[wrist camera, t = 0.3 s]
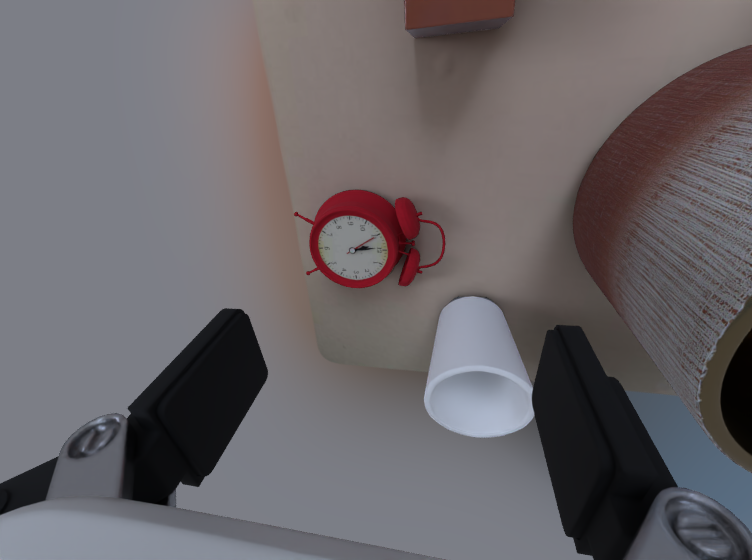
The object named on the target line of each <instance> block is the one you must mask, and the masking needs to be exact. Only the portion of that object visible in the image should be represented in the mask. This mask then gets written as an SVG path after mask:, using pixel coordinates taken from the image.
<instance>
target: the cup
mask: <svg viewBox="0 0 752 560" xmlns="http://www.w3.org/2000/svg"><path fill="white" fill-rule="evenodd" d="M532 391H533V387H532V384H531V382H530V379H529V377H528V374H527V372H526V369H525V367H524V364H523V362H522V359H521V357H520V354H519V352H518V349H517V347H516V344H515V342H514V339H513V337H512V334H511V332H510V329H509V327H508V324H507V322H506V319H505V317H504V314H503V312H502V310H501V309H500V308H499V307H498V306H497V305H496V304H495V303H494V302H493V301H492V300H490V299H489V298H487V297H475V296H470V297H459V296H458V297H456V298H454V299H453V300H452V301H451V302H450V303H449V304H448V305H446V306H445V307H444V308H443V309H442V311H441V313H440V317H439V322H438V327H437V332H436V337H435V343H434V348H433V353H432V358H431V363H430V369H429V374H428V379H427V385H426V389H425V395H424V403H425V408H426V410H427V412H428V413H429V415H430V417H431V418H432V419H434V420H435V421H436V422H437V423H438V424H440V425H442V426H443V427H445V428H447V429H448V430H451V431H453V432H456V433H459V434H462V435H466V436H471V437H479V438H480V437H481V438H489V437H498V436H503V435H507V434H510V433H513V432H516V431H517V430H519V429H522V428H524V427H525V426H526V425H527V424H528V423H529V422H530V421H531V420H532V419H533V417H534V411H533V407H532Z"/></svg>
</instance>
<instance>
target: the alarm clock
mask: <svg viewBox="0 0 752 560" xmlns="http://www.w3.org/2000/svg"><path fill="white" fill-rule="evenodd" d="M294 215H295V216H299V217H300V218H302V219H304V220H305V221H307V222H309V223H311V224H313V227H312V230H311V233H310V252H311V255H312V258H313V260H314V262H315V264H316V266H317V268H315V269H314V270H312V271H310V272H309V271H307V272H306V274H307V275H310V273H312V272H314V271H317V270H320V271H321V272H322V273H323V274H324V275H325V276H326V277H328V278H329V279H330V280H332V281H334V282H335V283H338V284H340V285H343V286H346V287H351V288H365V287H369V286H373V285H375V284H377V283H379V282H380V281H382V280H383V279H384V278H386V277H387V276H388V275H389V273H390V272H391V271H392V269H393V267H394V266H395V265H396V264H397V263H398V262H399V260H400V259H401V257H402V255H403V254H406V255H407V258H406V260H405V263H404V266H403V269H402V272H401V275H400V279H399V284H398V285H400V286H408V285H409V284H410V283H411V282H412V281H413V279H414V277H415V275H416V273H420V274H422V271H420V270H419V269H420V268H427V267H431V266H434V265H436V264H437V263H438V262H440V261H441V259H442V257H443V254H444V251H445V235H444V231H443V229H442V228H441V226H440V225H439V224H437V223H435V222H433V221H429V220H422V219H419V218H418V216H420V215H422V212H419V213H417V211H416V209H415V207H414V205H413V203H412V202H411V201H410V200H409V199H408V198H405V197H402V198H398V199H396V201H395V208H394V207H393V206H392V205H391V204H390V203H389V202H388V201H387V200H385V199H384V198H382V197H381V196H379V195H377V194H374V193H372V192H368V191H363V190H348V191H343V192H340V193H338V194H335V195H334V196H332V197H331V198H329V199H328V200H327V201H326V202H325V203H324V204H323V205H322V206H321V208H320V209H319V211H318V213H317V215H316V217H315V221H314V222H313V221H312V220H310V219H308V218H305V217H303V216H301V215H299V214H298V212H295V213H294ZM419 221H420V222H425V223H430V224H434V225H436V226H437V227H438V228H439V229H440V231H441V234H442V239H443V247H442V253H441V256H440V258H439V259H438V260H437V261H436V262H434V263H433V264H429V265H425V266H419V262H420V254H419V252H418V251H417V250H416V249H414V248H411V249H410V251H409V253H405V252H404V249H405V246H406V244H412V246H414V245H415V241H412V242H406V238H407V239H408V240H410V239H413V238H415V237H416V236H417V235H418V234H419V230H420V223H419Z"/></svg>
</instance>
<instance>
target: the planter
mask: <svg viewBox="0 0 752 560" xmlns="http://www.w3.org/2000/svg"><path fill="white" fill-rule="evenodd" d="M573 233H574V239H575V243H576V247H577V250H578V253H579V255H580V258H581V260H582V262H583V264H584V266H585V268H586V269H587V271H588V272H589V274H590V275H591V277H592V278H593V280H594V281H595V282H596V284H597V285H598V287H599V288H600V289H601V291H602V292H603V293H604V295H605V296H606V297H607V299H608V300H609V302H610V303H611V304H612V306H613V307H614V308H615V310H616V311H617V312H618V314H619V315H620V316H621V318H622V319H623V320H624V322H625V323H626V324H627V326H628V327H629V328H630V330H631V331H632V333H633V334H634V335H635V337H636V338H637V339H638V341H639V342H640V343H641V345H642V346H643V347H644V349H645V350H646V352H647V353H648V354H649V356H650V357H651V358H652V360H653V361H654V363H655V364H656V365H657V367H658V368H659V370H660V371H661V372H662V374H663V375H664V376H665V378H666V379H667V381H668V382H669V383H670V385H671V386H672V388H673V389H674V390H675V392H676V393H677V395H678V396H679V397H680V399H681V400H682V402H683V403H684V404H685V406H686V407H687V409H688V410H689V411H690V413H691V414H692V415H693V417H694V418H695V420H696V421H697V423H698V424H699V425H700V427H701V428H702V429H703V431H704V432H705V433H706V435H707V436H708V437H709V439H710V440H711V441H712V442H713V443H714V445H715V446H716V447H717V448H718V449H719V450H720V451H721V452H722V453H723V454H724V455H726V456H727V457H728V458H729V459H731V460H732V461H733V462H735V463H736V464H738V465H739V466H741V467H742V468H744V469H745V470H747V471H749V472H751V473H752V45H749V46H746V47H743V48H740V49H737V50H734V51H731V52H729V53H726V54H724V55H722V56H719V57H717V58H715V59H712V60H710V61H708V62H706V63H704V64H702V65H700V66H698V67H696V68H694V69H692V70H690V71H689V72H687V73H685V74H683V75H682V76H680V77H678V78H677V79H675V80H673V81H672V82H670V83H669V84H667V85H666V86H665V87H663V88H662V89H660V90H659V91H658V92H656V93H655V94H654V95H652V96H651V97H650V98H648V99H647V100H646V101H645V102H644V103H642V104H641V105H640V106H639V107H638V108H636V109H635V110H634V111H633V112H632V113H631V114H630V115H629V116H628V117H627V118H626V119H625V120H624V121H623V122H622V123H621V124H620V125H619V126H618V127H617V128H616V130H615V131H614V132H613V133H612V134H611V135H610V137H609V138H608V139H607V140H606V142H605V143H604V144H603V146H602V147H601V148H600V150H599V151H598V153H597V154H596V156H595V157H594V159H593V161H592V162H591V164H590V166H589V168H588V170H587V172H586V174H585V176H584V178H583V180H582V183H581V185H580V188H579V191H578V194H577V198H576V202H575V207H574V214H573Z"/></svg>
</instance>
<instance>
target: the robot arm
mask: <svg viewBox="0 0 752 560" xmlns="http://www.w3.org/2000/svg"><path fill="white" fill-rule="evenodd" d="M267 375H268V370H267V367H266V364H265V361H264V358H263V355H262V353H261V350H260V347H259V344H258V341H257V338H256V336H255V333H254V330H253V327H252V324H251V322H250V319H249V316H248V315H247V314H245V313H244V311H243V310H241V309H227V308H226V309H223V310H221V311H220V312H219V313H218V314H217V315H216V316H215V317H214V318H213V319H212V320H211V322H210V323H209V324H208V325H207V326H206V327H205V328H204V329H203V330H202V331H201V332H200V333H199V334H198V335H197V336H196V337H195V338H194V339H193V340H192V342H190V343H189V344H188V345H187V347H186V348H185V349H184V350H183V351H182V352H181V353H180V354H179V355H178V356H177V357H176V358H175V359H174V360H173V361H172V362H171V363H170V364H169V365H168V366H167V367H166V368H165V370H164V371H163V372H162V373H161V374H160V375H159V376H158V377H157V378H156V379H155V380H154V381H153V382H152V383H151V384H150V385H149V386H148V387H147V388H146V389H145V390H144V391H143V392H142V393H141V395H140V396H139V397H138V398H137V399H136V400H135V401H134V402H133V403H132V404H131V405H130V406H129V407H128V410H129V411H130V412H131V414H130V415H129V417H128V418H127V419H126V418H125V417H124V416H123V415H122V414H117V413H115V414H107V415H104V416H100V417H98V418H96V419H94V420H92V421H90V422H88V423H86V424H85V425H84V426H82V427H80V428H79V429H78V430H77V431H76V432H74V433H73V434H72V435H71V436H70V437H69V438H68V440H67V441H66V442H65V443H64V445H63V447H62V449H61V451H60V454H59V456H58V457H56V458H54V459H52V460H50V461H47V462H46V463H43V464H41V465H39V466H37V467H35V468H33V469H31V470H29V471H26V472H24V473H22V474H20V475H18V476H16V477H14V478H11V479H9V480H7V481H5V482H3V483H1V484H0V560H445V559H440V558H435V557H430V556H425V555H420V554H415V553H410V552H405V551H400V550H395V549H390V548H385V547H379V546H375V545H370V544H364V543H359V542H354V541H349V540H344V539H339V538H333V537H328V536H323V535H318V534H313V533H307V532H302V531H297V530H291V529H287V528H281V527H276V526H271V525H266V524H260V523H255V522H250V521H245V520H239V519H233V518H229V517H223V516H218V515H212V514H207V513H202V512H196V511H191V510H186V509H180V508H176V488H177V486H178V484H179V483H180V481H181V482H182V484H185V485H191V486H196V487H199V486H200V484H201V482H202V481H203V479H204V477H205V476H207V475H209V474H210V473H211V472H212V470H213V469H214V467H215V466H216V464H217V462H218V461H219V459H220V457H221V456H222V454H223V452H224V450H225V449H226V447H227V445H228V444H229V442H230V440H231V439H232V437H233V435H234V434H235V432H236V430H237V428H238V427H239V425H240V423H241V422H242V420H243V418H244V417H245V415H246V413H247V412H248V410H249V408H250V407H251V405H252V403H253V402H254V400H255V398H256V396H257V395H258V393H259V391H260V390H261V388H262V386H263V385H264V383H265V381H266V379H267ZM532 407H533V411H534V415H535V418H536V422H537V426H538V430H539V434H540V438H541V442H542V446H543V450H544V454H545V458H546V462H547V466H548V470H549V474H550V477H551V482H552V486H553V490H554V493H555V498H556V501H557V506H558V510H559V513H560V518H561V522H562V525H563V529H564V531H565V534H566V535H567V536H568V537H573V539H574V542H575V546H576V550H577V553H579V554H585V555H591V556H593V558H594V560H752V533H751V532H750V531H749V529H748V528H747V527H746V526H745V524H743V523H742V522H741V521H740V520H739V519H738V518H737V517H736V516H735V515H734V514H733V513H732V512H731V511H729V510H728V509H727V508H725V507H724V506H723V505H721V504H720V503H718V502H717V501H715V500H713V499H712V498H710V497H708V496H706V495H703V494H702V493H700V492H696V491H693V490H690V489H687V488H678V486H677V484H676V482H675V481H674V479H673V477H672V475H671V474H670V472H669V470H668V468H667V466H666V465H665V463H664V461H663V459H662V457H661V455H660V454H659V452H658V450H657V448H656V447H655V445H654V443H653V441H652V440H651V438H650V436H649V434H648V432H647V430H646V428H645V427H644V425H643V423H642V421H641V420H640V418H639V416H638V414H637V412H636V410H635V409H634V407H633V405H632V403H631V402H630V400H629V398H628V396H627V394H626V392H625V391H624V389H623V387H622V385H621V384H620V383H619V381H618V380H617V379H616V378H614V377H607V376H606V374H605V372H604V370H603V368H602V366H601V364H600V362H599V360H598V358H597V356H596V355H595V353H594V351H593V349H592V347H591V345H590V343H589V341H588V339H587V337H586V335H585V334H584V332H583V330H582V328H581V327H579V326H566V325H556V326H555V328H554V330H548V331H547V334H546V338H545V342H544V346H543V350H542V354H541V358H540V363H539V367H538V371H537V375H536V379H535V383H534V387H533V391H532Z"/></svg>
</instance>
